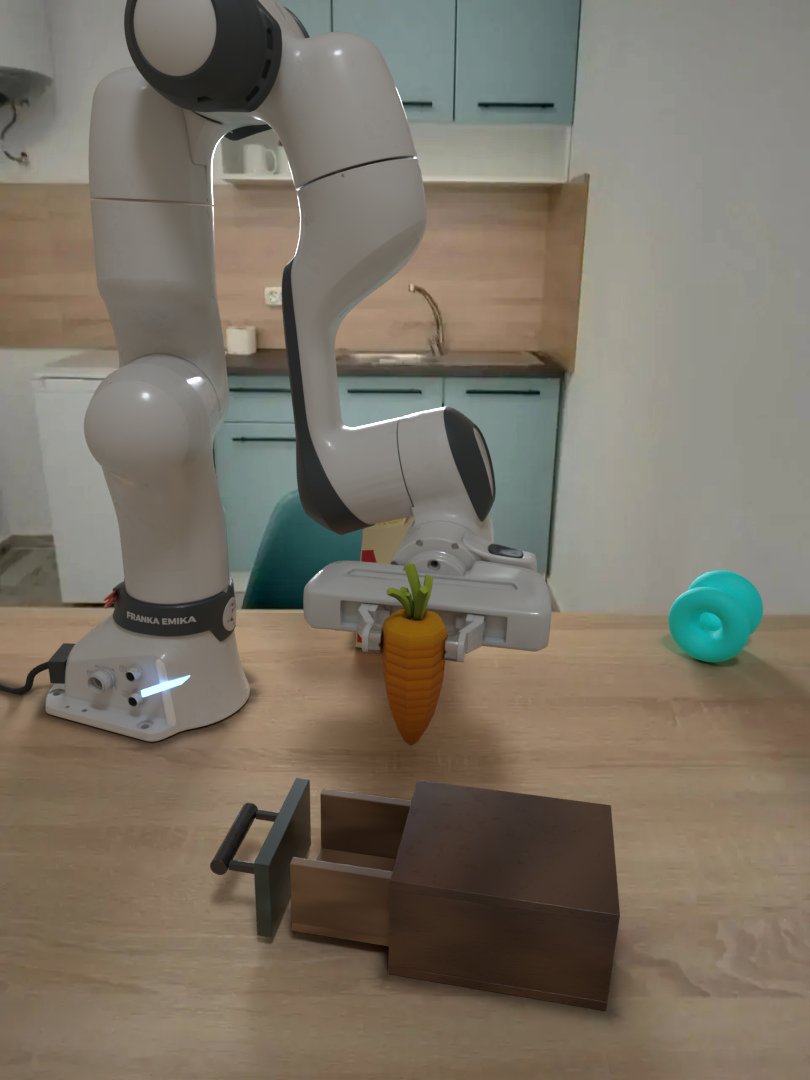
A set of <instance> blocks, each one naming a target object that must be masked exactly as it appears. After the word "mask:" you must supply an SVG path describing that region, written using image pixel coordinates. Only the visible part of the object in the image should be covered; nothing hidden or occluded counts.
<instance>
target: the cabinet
mask: <svg viewBox="0 0 810 1080" xmlns="http://www.w3.org/2000/svg"><path fill="white" fill-rule="evenodd" d="M411 801H412V802H411V805H410V809H409V813H408V816H407V820H406V824H405V828H404V831H403V835H402V839H401V842H400V846H399V850H398V854H397V857H396V861H395V865H394V868H393V872H392V876H391V880H390V915H389V946H388V958H387V959H388V962H387V964H388V965H387V974H388V975H392V976H399V977H404V978H411V979H416V980H423V981H427V982H428V981H429V982H434V983H440V984H446V985H452V986H457V987H464V988H469V989H476V990H482V991H486V992H487V991H488V992H492V993H493V992H494V993H500V994H505V995H511V996H516V997H524V998H528V999H535V1000H541V1001H546V1002H552V1003H558V1004H564V1005H570V1006H577V1007H583V1008H587V1009H594V1010H600V1011H607V1008H608V1001H609V1000H608V999H609V993H610V986H611V981H612V980H611V979H612V973H613V968H614V967H613V966H614V960H615V953H616V945H617V938H618V932H619V925H620V919H621V910H620V898H619V886H618V885H619V883H618V874H617V862H616V851H615V839H614V825H613V812H612V805H611V804H606V803H605V804H604V803H596V802H590V801H582V800H574V799H567V798H560V797H552V796H545V795H537V794H530V793H522V792H513V791H506V790H499V789H490V788H483V787H475V786H467V785H460V784H454V783H453V784H452V783H445V782H437V781H429V780H422V779H417V780H416V783H415V787H414V791H413V795H412V798H411Z"/></svg>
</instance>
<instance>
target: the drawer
mask: <svg viewBox="0 0 810 1080" xmlns="http://www.w3.org/2000/svg"><path fill="white" fill-rule="evenodd" d="M319 795H320V799H319V800H320V846H321V847H320V850H319V853H318V855H317V858H316V859H310V858H307V855H308V853H309V850H310V848H311V846H312V831H311V830H312V829H311V780H310V779H309V778H303V777H295V779H294V781H293V783H292V786H291V787H290V789H289V791H288V793H287V796H286V798H285V800H284V802H283V803H282V806H281V808H280V810H279V812H278V811H271V810H265V809H259V807H258V806H257V805H256V803H253V802H245V803H243V805H242V807H241V808H240V810H239V812H238V814H237V815H236V817H235V819H234V821H233V823H232V824H231V827H230V828H229V829H228V832H227V833H226V835H225V837H224V838H223V841H222V843H221V844H220V845H219V847H218V849H217V851H216V853H215V854H214V856H213V858H212V860H211V861H210V864H209V868H210V871H211V872H212V873H213V874H215V875H217V876H223V875H226V874H227V872H228V871H232V872H237V873H244V874H250V875H253V876H254V877H253V879H254V896H255V898H254V899H255V901H254V902H255V920H256V935H257V937H264V938H268V939H273V937H274V934H275V932H276V929H277V927H278V926H279V922H280V920H281V918H282V915H283V912H284V910H285V908H286V905H287V903H288V901H289V899H290V912H291V913H290V914H291V915H290V916H291V918H290V919H291V931H292V932H297V933H305V934H311V935H317V936H324V937H330V938H335V939H342V940H348V941H354V942H358V943H359V942H360V943H366V944H372V945H378V946H383V947H389V915H390V880H391V876H392V872H393V868H394V865H395V861H396V857H397V854H398V850H399V846H400V842H401V839H402V835H403V831H404V828H405V824H406V820H407V816H408V813H409V809H410V805H411V802H412V799H411V800H410V799H402V798H395V797H388V796H380V795H373V794H367V793H360V792H359V793H358V792H352V791H351V792H350V791H345V790H336V789H328V788H322V789H321V792H320V794H319ZM255 820H257V821H258V820H259V821H264V822H265V821H266V822H273V824H272V826H271V827H270V830H269V832H268V833H267V836H266V837H265V840H264V842H263V844H262V846H261V848H260V849H259V852H258V853H257V856H256V858H255V859H254V862H253V861H252V862H251V861H244V860H238V859H235V857H236V856H237V853H238V852H239V850H240V848H241V846H242V844H243V842H244V841H245V839H246V837H247V835H248V833H249V831H250V829H251V827H252V825H253V823H254V821H255Z"/></svg>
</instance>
